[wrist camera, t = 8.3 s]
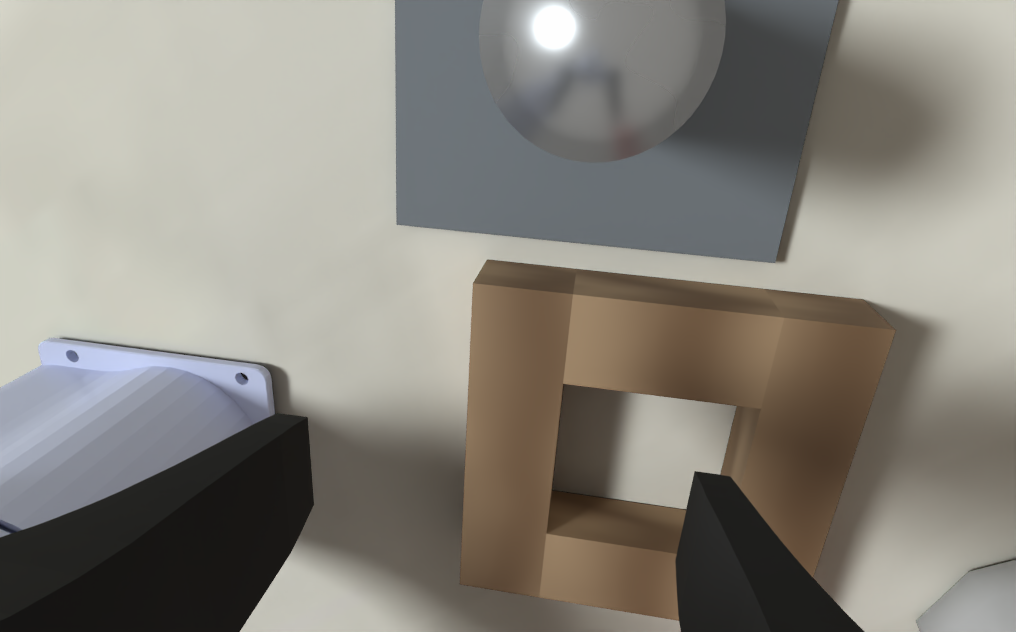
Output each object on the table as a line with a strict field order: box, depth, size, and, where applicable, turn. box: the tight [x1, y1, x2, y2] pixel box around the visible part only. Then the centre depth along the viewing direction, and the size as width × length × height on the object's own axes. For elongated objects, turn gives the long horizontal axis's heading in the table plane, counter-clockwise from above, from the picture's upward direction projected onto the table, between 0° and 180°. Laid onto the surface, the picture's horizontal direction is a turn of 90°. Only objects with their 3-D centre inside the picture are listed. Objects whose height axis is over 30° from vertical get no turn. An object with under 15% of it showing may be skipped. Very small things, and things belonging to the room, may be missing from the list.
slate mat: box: [395, 0, 839, 263], centre depth 18 cm, size 12×12×1 cm
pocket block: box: [460, 260, 896, 621], centre depth 21 cm, size 12×12×2 cm
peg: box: [479, 0, 726, 163], centre depth 14 cm, size 4×4×8 cm
